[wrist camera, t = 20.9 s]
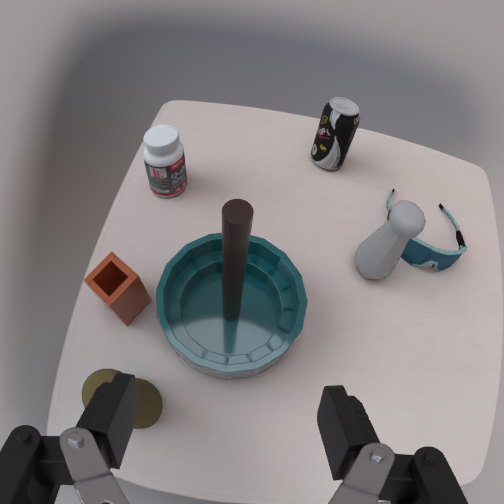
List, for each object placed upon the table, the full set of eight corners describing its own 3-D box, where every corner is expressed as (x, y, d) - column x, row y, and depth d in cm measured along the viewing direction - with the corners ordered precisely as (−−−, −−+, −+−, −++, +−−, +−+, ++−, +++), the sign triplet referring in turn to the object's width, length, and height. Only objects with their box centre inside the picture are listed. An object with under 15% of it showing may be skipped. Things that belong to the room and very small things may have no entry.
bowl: (140, 322, 37) (126, 305, 31) (220, 236, 44) (220, 209, 38) (243, 405, 33) (246, 403, 28) (318, 304, 40) (332, 284, 35)
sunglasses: (385, 263, 43) (400, 241, 39) (378, 195, 52) (388, 173, 48) (460, 281, 43) (477, 262, 39) (443, 215, 52) (455, 196, 48)
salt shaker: (347, 278, 42) (387, 224, 31) (352, 244, 45) (389, 184, 33) (385, 290, 41) (434, 241, 30) (388, 255, 44) (432, 202, 33)
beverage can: (304, 150, 53) (319, 94, 43) (333, 148, 55) (351, 94, 44) (317, 174, 51) (336, 116, 40) (347, 170, 52) (370, 116, 42)
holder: (103, 303, 37) (83, 280, 31) (127, 278, 39) (111, 251, 33) (127, 326, 36) (108, 306, 30) (151, 299, 38) (138, 275, 32)
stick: (219, 314, 37) (215, 212, 20) (229, 302, 38) (235, 193, 21) (232, 324, 37) (240, 229, 20) (242, 312, 38) (259, 209, 21)
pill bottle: (182, 201, 46) (175, 151, 37) (146, 197, 46) (133, 148, 37) (190, 172, 49) (186, 123, 40) (156, 169, 49) (147, 121, 40)
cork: (141, 439, 30) (108, 445, 20) (103, 403, 31) (59, 394, 22) (173, 401, 32) (152, 394, 23) (133, 367, 34) (100, 346, 24)
